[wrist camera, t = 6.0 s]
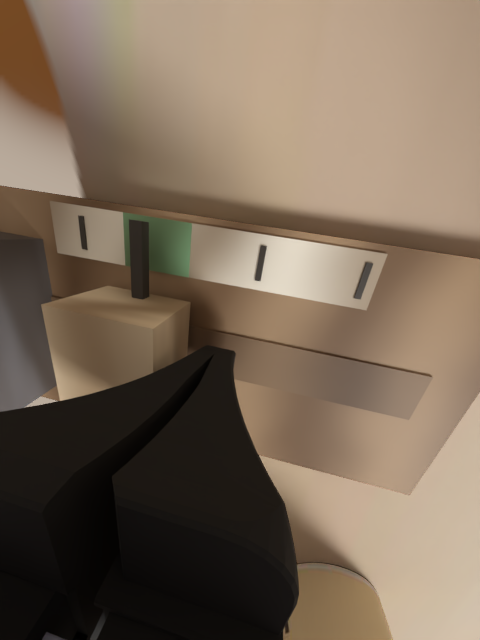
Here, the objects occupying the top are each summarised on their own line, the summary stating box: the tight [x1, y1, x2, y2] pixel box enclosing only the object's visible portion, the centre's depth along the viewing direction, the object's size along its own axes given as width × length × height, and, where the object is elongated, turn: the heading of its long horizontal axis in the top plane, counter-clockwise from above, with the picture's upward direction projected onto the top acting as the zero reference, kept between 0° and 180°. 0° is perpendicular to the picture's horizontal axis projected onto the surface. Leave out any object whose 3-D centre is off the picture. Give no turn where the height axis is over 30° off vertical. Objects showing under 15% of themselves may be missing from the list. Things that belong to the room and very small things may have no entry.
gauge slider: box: [41, 219, 191, 401], centre depth 9 cm, size 4×8×3 cm, turn 172°
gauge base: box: [0, 186, 480, 495], centre depth 10 cm, size 24×12×5 cm, turn 82°
